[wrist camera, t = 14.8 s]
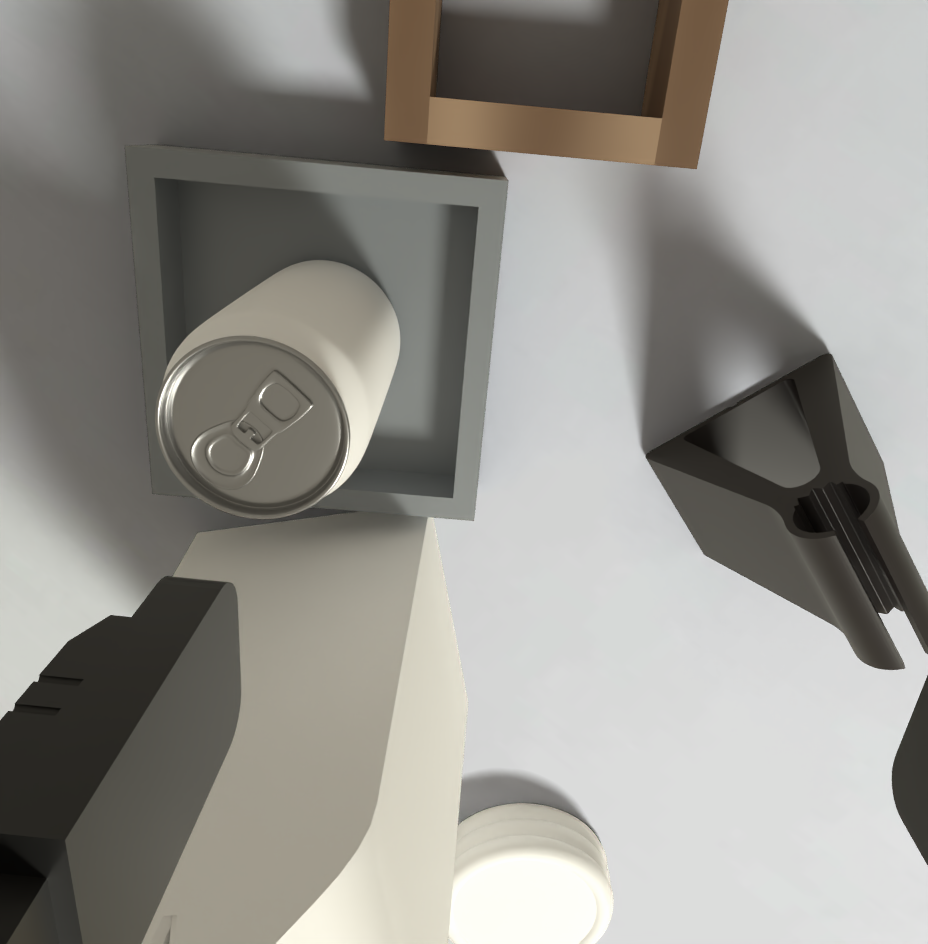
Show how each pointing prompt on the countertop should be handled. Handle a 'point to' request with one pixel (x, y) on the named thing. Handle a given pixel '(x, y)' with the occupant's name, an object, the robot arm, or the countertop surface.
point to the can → (279, 391)
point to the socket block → (559, 130)
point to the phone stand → (800, 506)
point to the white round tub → (528, 879)
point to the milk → (329, 741)
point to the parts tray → (351, 243)
